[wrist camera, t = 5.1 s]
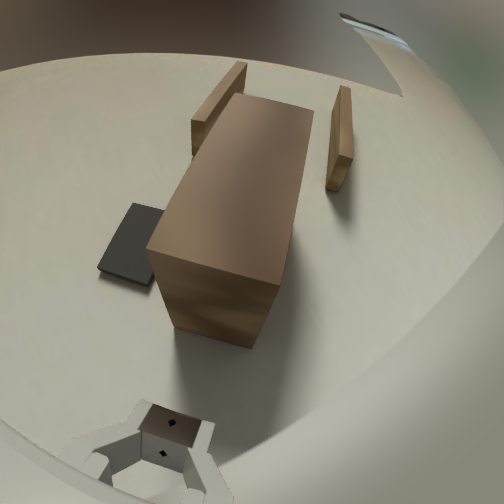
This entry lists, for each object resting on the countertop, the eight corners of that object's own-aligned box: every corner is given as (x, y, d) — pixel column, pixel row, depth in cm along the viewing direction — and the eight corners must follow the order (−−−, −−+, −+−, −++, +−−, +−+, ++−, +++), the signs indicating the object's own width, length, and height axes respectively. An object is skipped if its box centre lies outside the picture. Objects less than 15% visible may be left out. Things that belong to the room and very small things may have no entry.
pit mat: (98, 269, 19) (97, 267, 19) (133, 205, 23) (132, 202, 22) (148, 286, 19) (147, 284, 19) (179, 217, 23) (179, 214, 22)
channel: (191, 155, 26) (191, 119, 23) (234, 89, 34) (237, 61, 31) (338, 192, 26) (353, 158, 23) (341, 115, 33) (350, 88, 30)
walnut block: (173, 326, 18) (145, 248, 11) (226, 189, 25) (235, 92, 17) (251, 348, 18) (280, 285, 11) (286, 204, 25) (314, 110, 17)
